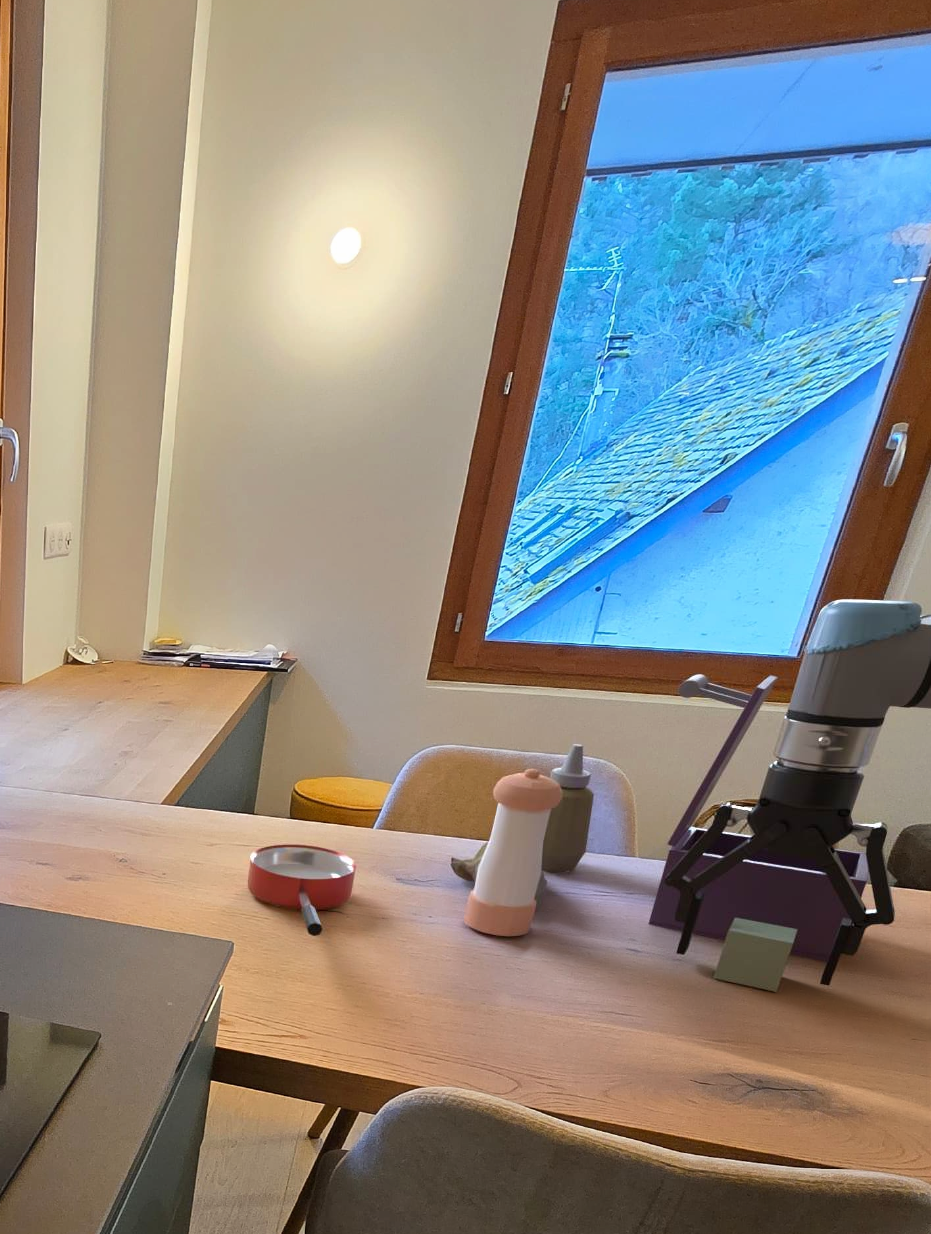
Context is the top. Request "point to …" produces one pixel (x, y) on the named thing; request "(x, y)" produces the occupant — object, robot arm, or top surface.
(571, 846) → the squeeze bottle
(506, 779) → the salt shaker
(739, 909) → the box
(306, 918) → the frying pan
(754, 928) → the block
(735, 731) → the lid
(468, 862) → the ceramic sculpture
